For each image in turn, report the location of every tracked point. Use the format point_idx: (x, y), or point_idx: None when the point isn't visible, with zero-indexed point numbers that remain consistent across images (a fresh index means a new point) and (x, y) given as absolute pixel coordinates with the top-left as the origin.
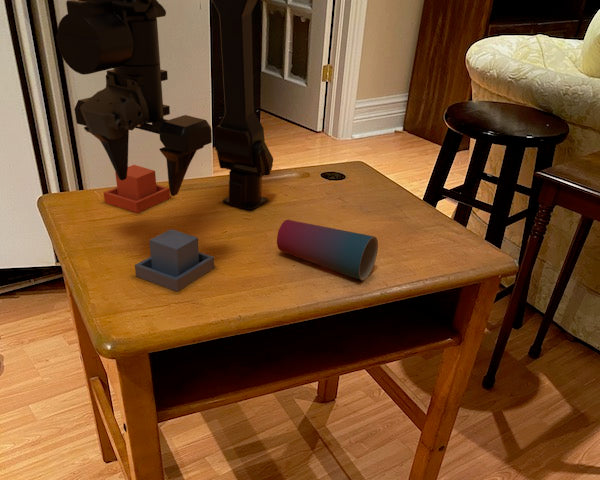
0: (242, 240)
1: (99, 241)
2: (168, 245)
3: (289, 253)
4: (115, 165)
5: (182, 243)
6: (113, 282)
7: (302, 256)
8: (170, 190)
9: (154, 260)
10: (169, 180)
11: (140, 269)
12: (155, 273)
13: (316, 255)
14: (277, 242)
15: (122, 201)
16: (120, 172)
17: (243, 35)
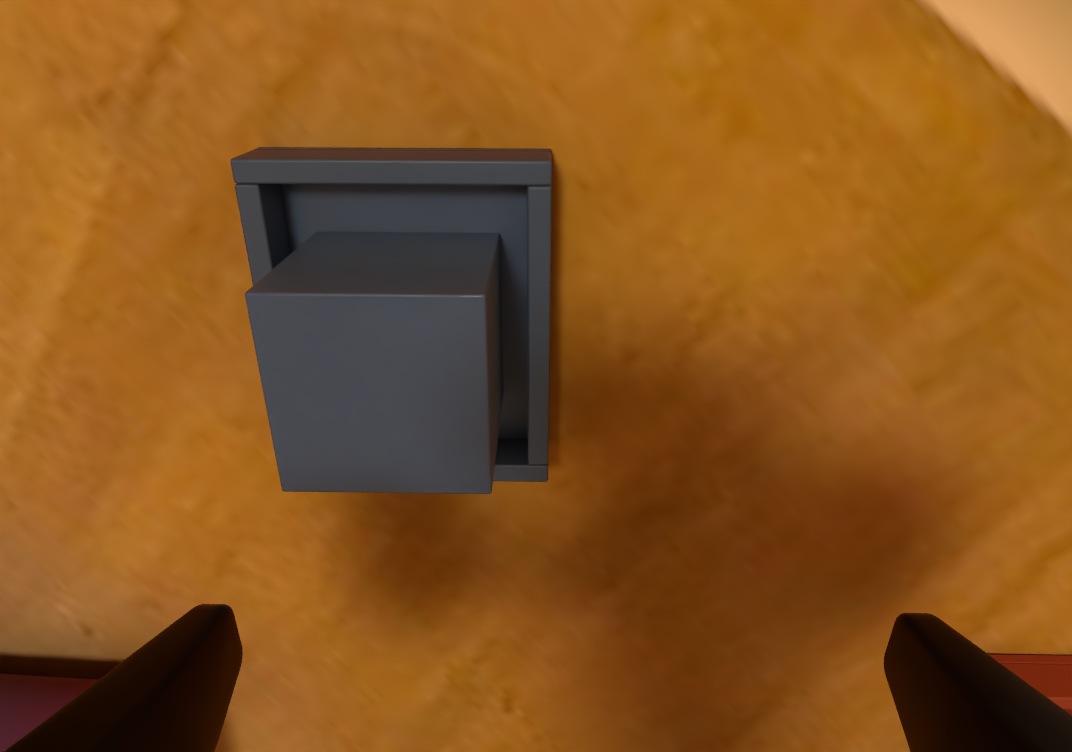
0: (401, 686)
1: (971, 347)
2: (328, 306)
3: None
4: (1042, 734)
5: (285, 380)
6: (611, 10)
7: (38, 680)
8: (191, 638)
9: (469, 253)
10: (100, 732)
11: (507, 158)
12: (389, 158)
13: None
14: None
15: (1067, 683)
16: (943, 681)
17: None
